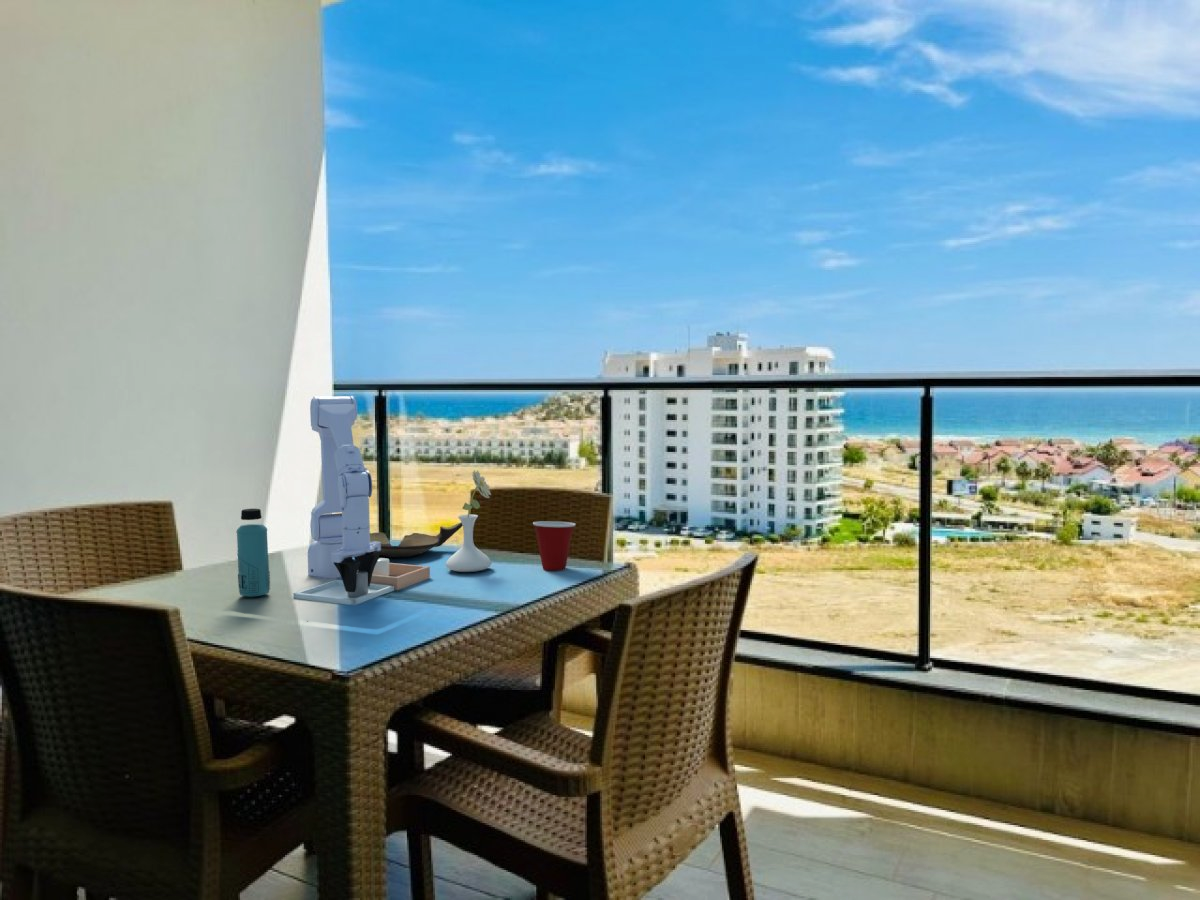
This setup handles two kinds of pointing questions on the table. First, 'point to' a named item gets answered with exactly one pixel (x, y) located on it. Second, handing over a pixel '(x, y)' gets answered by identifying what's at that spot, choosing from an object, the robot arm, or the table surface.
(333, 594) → the parts tray
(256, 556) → the beverage bottle
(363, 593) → the grey plastic cylinder
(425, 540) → the dark brown curved bowl
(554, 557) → the plastic cup
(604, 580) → the table surface
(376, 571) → the pale grey cylinder
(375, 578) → the terracotta dish
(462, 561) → the flower in vase
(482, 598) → the table surface
